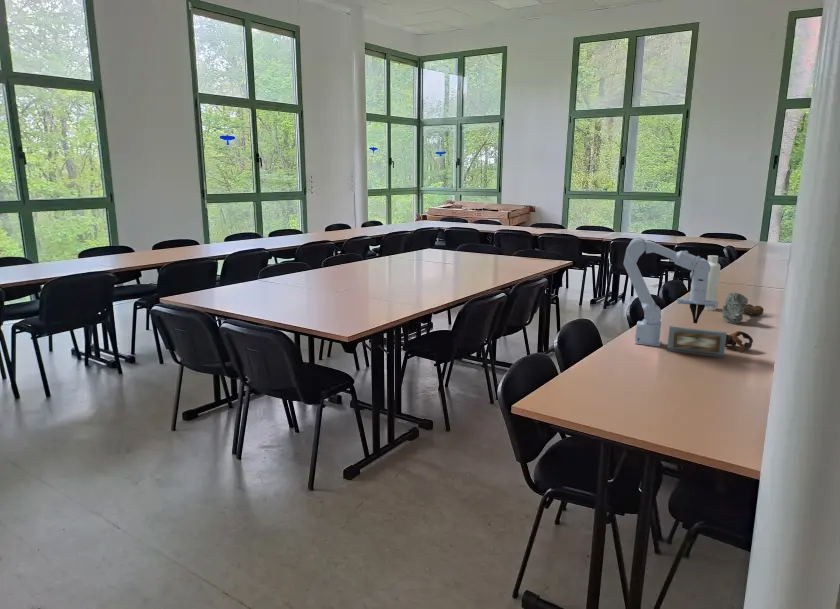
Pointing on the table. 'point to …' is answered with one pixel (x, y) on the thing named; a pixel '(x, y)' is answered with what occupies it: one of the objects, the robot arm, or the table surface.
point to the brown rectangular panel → (696, 341)
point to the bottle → (712, 280)
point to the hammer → (738, 308)
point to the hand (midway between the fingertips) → (695, 322)
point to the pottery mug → (734, 340)
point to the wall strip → (697, 331)
